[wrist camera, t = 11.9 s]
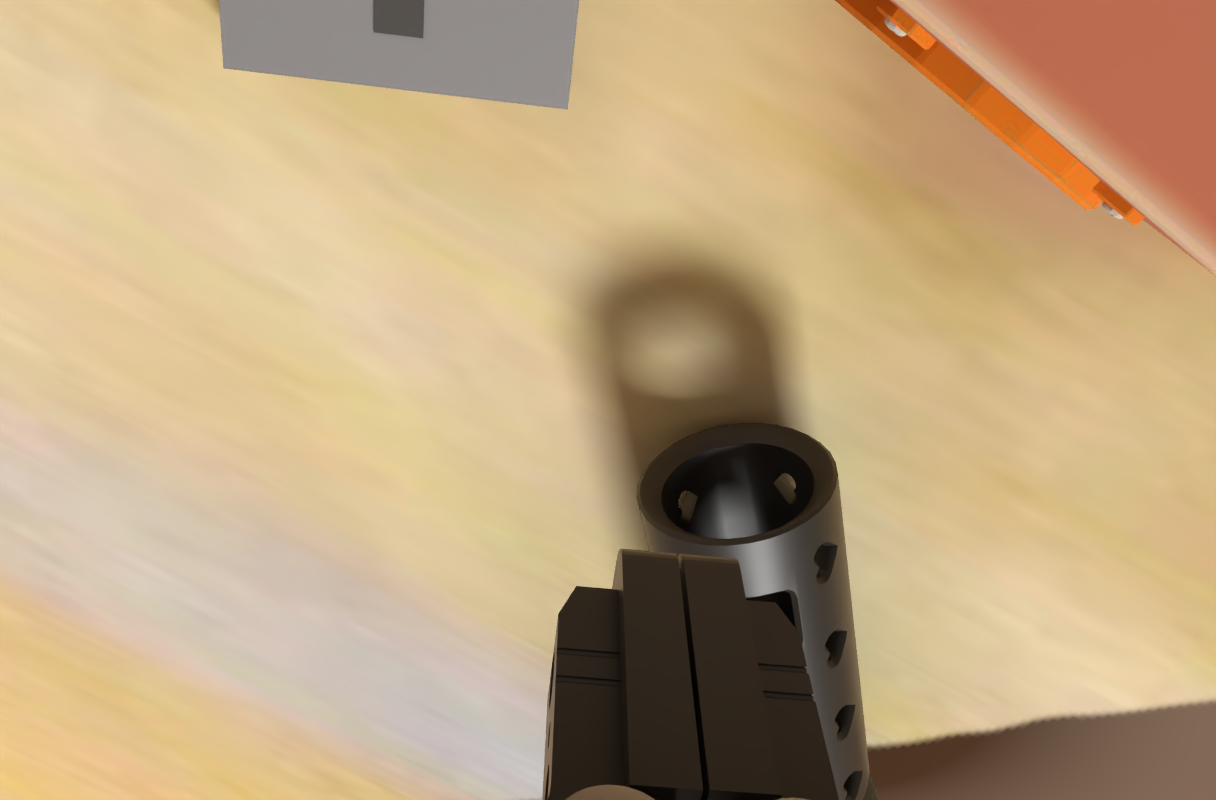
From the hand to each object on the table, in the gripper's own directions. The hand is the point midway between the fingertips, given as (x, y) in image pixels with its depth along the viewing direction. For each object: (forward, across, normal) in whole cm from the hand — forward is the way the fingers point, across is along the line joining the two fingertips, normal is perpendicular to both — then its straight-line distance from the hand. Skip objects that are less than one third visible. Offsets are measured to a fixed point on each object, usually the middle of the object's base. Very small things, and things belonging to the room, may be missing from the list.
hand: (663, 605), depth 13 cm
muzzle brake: (+33, -12, +30) cm, 46 cm away
